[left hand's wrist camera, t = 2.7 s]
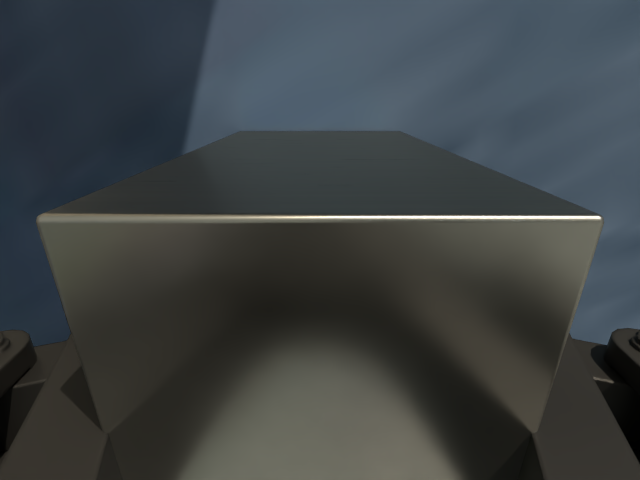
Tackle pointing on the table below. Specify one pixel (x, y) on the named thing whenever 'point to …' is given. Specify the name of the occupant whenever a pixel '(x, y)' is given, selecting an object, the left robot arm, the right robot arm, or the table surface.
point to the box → (320, 309)
